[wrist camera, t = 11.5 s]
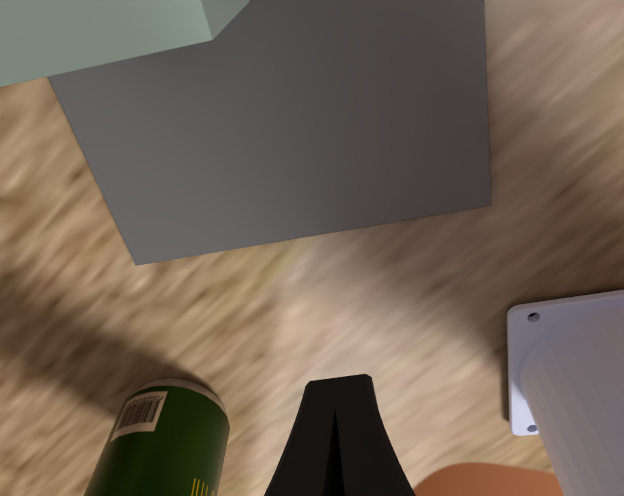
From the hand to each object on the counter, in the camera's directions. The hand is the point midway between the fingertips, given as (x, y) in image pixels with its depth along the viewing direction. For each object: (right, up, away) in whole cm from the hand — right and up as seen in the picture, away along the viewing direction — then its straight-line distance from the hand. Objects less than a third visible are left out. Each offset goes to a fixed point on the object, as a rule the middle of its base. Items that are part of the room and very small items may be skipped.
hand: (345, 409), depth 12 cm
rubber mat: (-2, +10, +6) cm, 12 cm away
